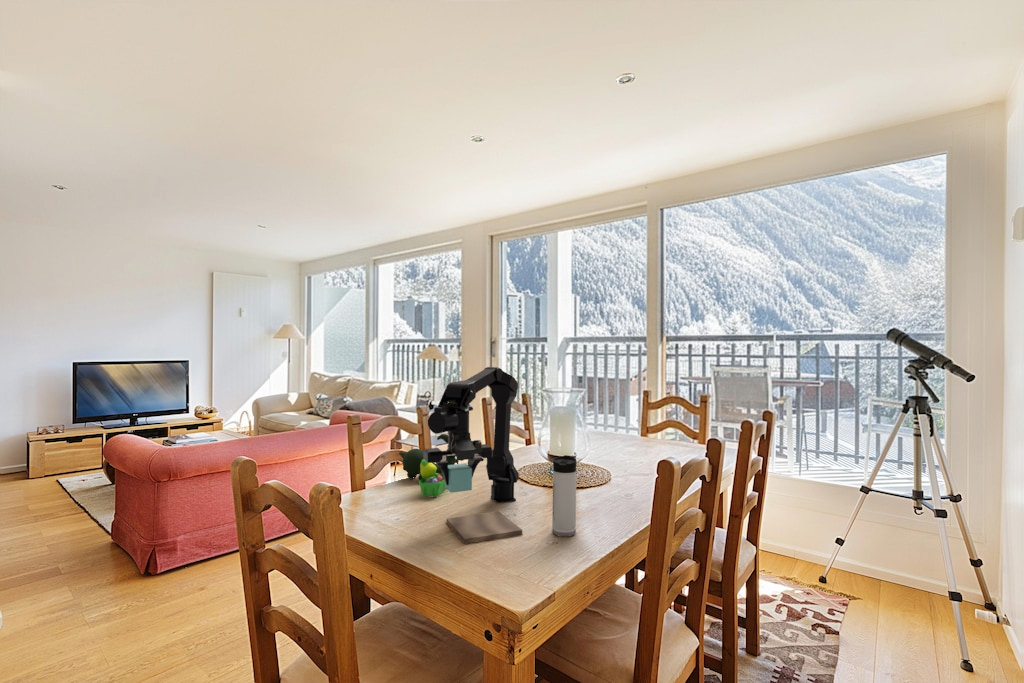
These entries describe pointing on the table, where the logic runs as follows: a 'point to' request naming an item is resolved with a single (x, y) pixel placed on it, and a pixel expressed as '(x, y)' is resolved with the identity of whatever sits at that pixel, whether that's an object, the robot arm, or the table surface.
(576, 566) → the table surface
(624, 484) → the table surface
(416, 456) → the toy figurine
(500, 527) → the walnut board
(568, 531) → the travel mug
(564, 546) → the table surface
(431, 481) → the fruit basket
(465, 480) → the teal cube
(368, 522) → the table surface
